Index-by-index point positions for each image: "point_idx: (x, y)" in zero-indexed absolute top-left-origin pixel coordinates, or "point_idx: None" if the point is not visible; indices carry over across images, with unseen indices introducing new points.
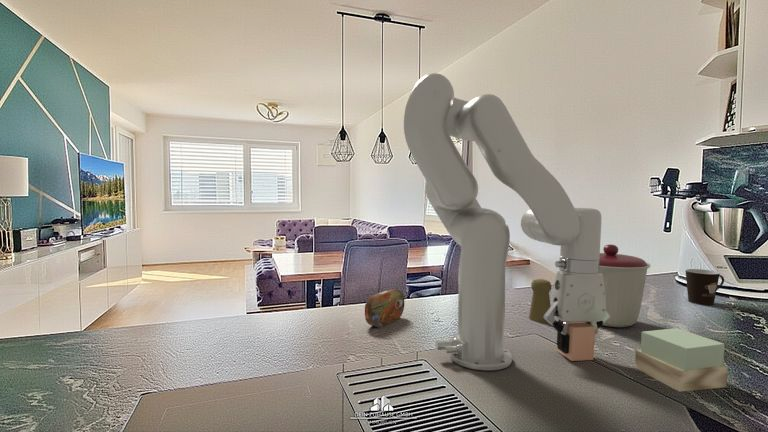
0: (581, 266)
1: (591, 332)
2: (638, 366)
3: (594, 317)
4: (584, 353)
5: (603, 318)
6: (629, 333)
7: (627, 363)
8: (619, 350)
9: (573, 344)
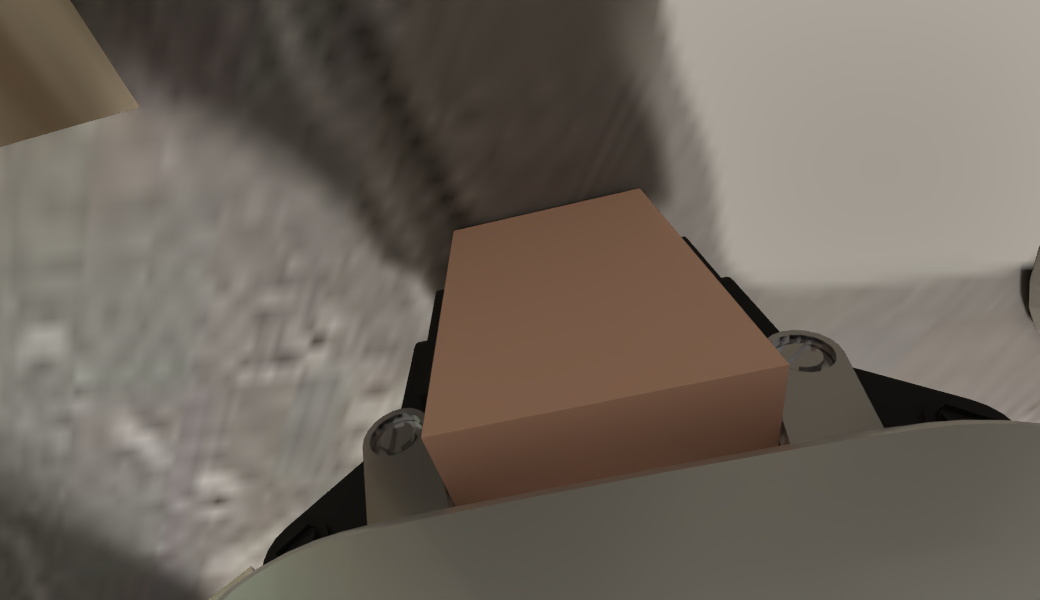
0: None
1: (474, 372)
2: (91, 66)
3: (429, 582)
4: (536, 236)
5: (237, 591)
6: (114, 596)
7: (193, 192)
8: (213, 402)
9: (674, 251)
